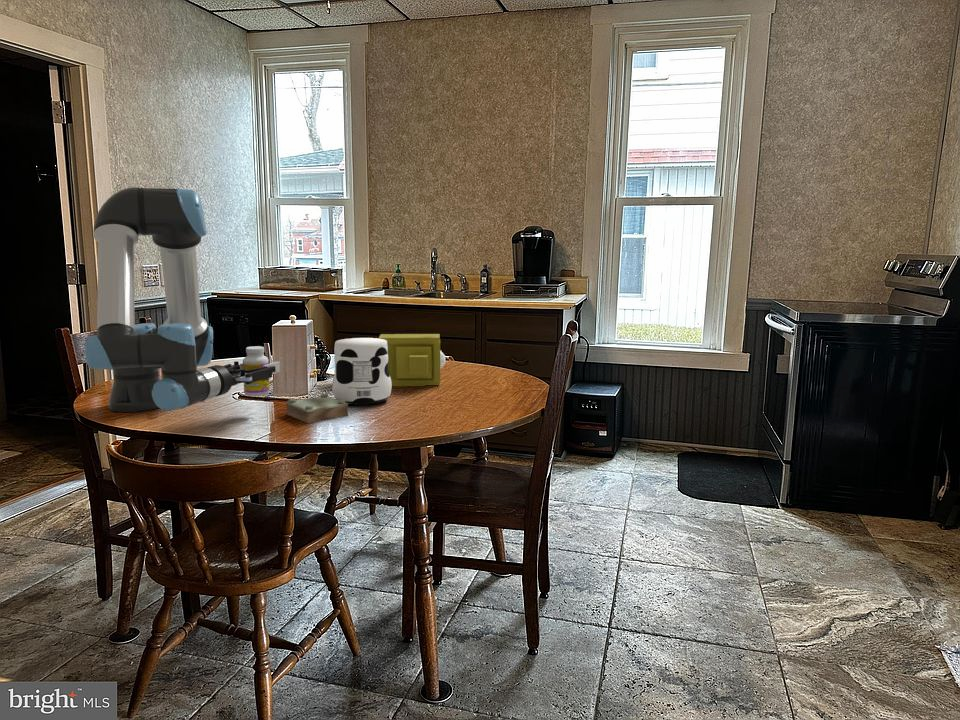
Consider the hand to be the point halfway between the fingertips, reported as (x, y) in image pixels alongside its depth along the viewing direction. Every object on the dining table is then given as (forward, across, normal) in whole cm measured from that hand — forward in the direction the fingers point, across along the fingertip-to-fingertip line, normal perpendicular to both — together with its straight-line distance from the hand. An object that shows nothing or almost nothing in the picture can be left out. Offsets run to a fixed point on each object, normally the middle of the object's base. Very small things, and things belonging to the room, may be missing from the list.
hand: (267, 365), depth 188 cm
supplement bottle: (-5, 0, -7) cm, 9 cm away
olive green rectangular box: (+42, +18, -14) cm, 47 cm away
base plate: (0, +15, -13) cm, 20 cm away
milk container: (+19, +19, -13) cm, 30 cm away
